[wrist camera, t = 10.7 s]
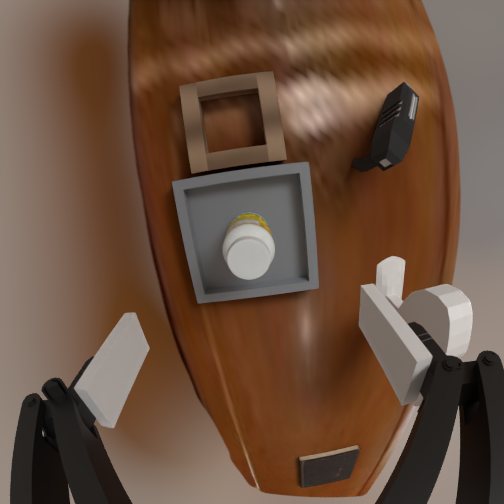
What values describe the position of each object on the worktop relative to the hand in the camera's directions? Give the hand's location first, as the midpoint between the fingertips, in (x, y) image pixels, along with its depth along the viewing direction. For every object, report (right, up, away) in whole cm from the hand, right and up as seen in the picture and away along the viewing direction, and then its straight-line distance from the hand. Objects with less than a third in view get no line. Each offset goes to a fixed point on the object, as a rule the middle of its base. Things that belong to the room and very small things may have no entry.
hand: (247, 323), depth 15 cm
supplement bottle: (0, +6, +19) cm, 20 cm away
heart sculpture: (+22, -3, +24) cm, 32 cm away
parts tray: (0, +6, +20) cm, 21 cm away
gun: (+17, +21, +16) cm, 31 cm away
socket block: (-2, +20, +16) cm, 25 cm away
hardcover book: (+22, -57, +42) cm, 75 cm away
